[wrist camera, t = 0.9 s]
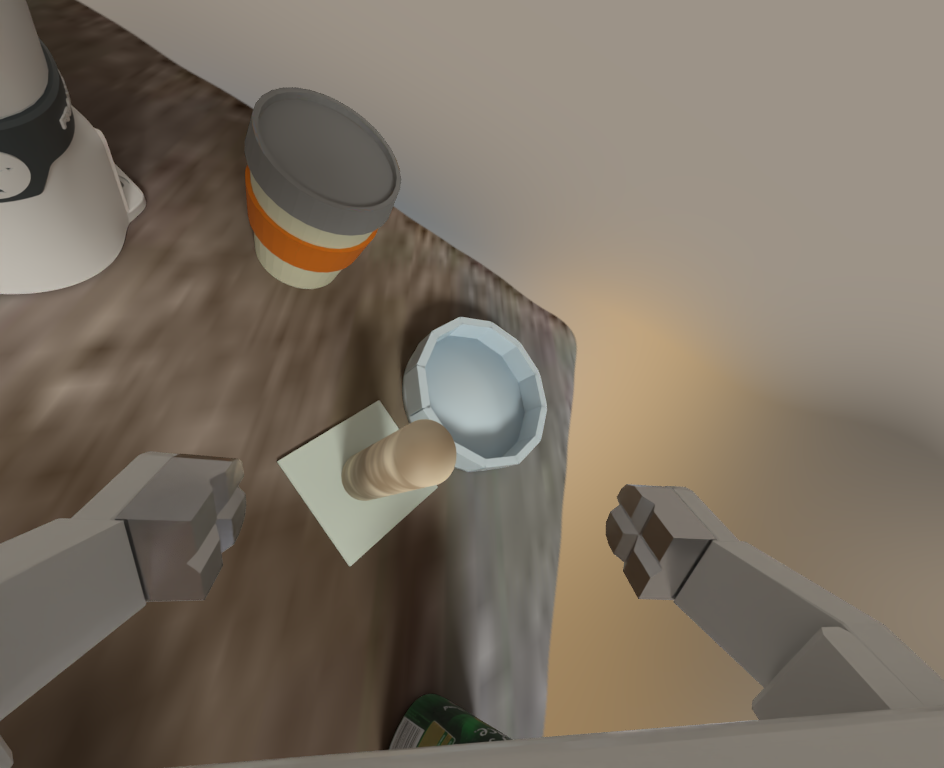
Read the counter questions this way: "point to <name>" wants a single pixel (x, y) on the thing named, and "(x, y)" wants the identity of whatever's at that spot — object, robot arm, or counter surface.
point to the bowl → (477, 392)
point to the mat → (323, 490)
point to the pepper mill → (401, 462)
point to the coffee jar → (441, 725)
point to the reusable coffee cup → (314, 185)
